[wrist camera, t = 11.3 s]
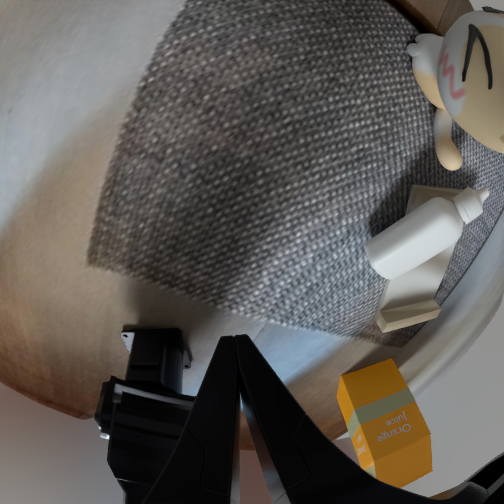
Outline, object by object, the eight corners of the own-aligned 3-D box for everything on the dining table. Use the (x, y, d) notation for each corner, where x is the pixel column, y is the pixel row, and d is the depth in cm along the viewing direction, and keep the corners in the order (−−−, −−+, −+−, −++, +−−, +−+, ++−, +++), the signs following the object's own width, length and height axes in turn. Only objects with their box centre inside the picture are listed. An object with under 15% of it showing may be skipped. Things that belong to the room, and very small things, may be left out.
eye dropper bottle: (361, 228, 23) (463, 153, 16) (392, 266, 25) (488, 203, 17) (362, 258, 20) (485, 173, 12) (396, 298, 21) (507, 229, 14)
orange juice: (340, 375, 35) (385, 495, 18) (392, 357, 35) (445, 463, 18) (335, 397, 39) (370, 499, 22) (382, 381, 39) (423, 474, 23)
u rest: (427, 305, 30) (437, 317, 28) (373, 317, 29) (382, 332, 27) (467, 189, 22) (482, 199, 19) (411, 184, 21) (428, 194, 18)
